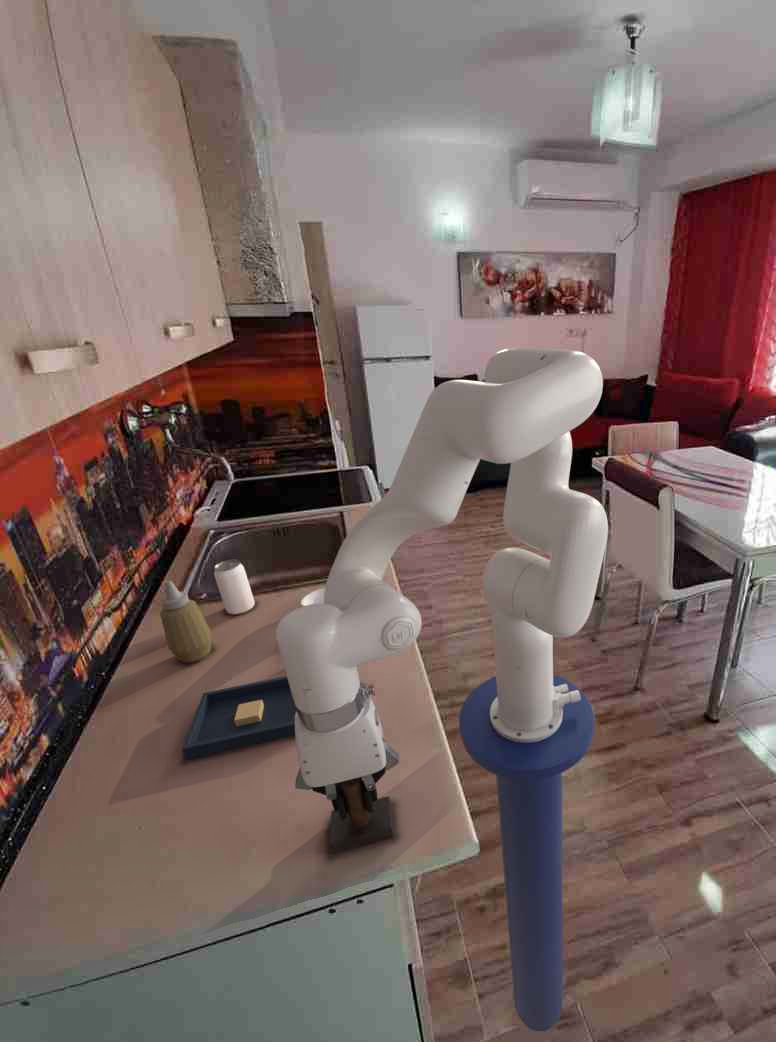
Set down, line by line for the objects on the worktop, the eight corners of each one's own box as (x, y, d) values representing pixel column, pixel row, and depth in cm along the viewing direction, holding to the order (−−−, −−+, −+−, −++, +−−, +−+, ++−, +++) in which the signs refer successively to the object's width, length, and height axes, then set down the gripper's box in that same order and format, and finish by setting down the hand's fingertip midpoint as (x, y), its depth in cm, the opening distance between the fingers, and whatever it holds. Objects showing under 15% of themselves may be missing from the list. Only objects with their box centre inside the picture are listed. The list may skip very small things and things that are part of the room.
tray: (316, 680, 99) (313, 670, 98) (311, 731, 87) (308, 720, 86) (207, 703, 95) (203, 692, 94) (186, 760, 83) (181, 749, 82)
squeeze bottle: (218, 639, 113) (193, 568, 106) (214, 660, 107) (187, 586, 99) (177, 649, 111) (149, 577, 103) (171, 671, 104) (139, 596, 96)
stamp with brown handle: (391, 805, 73) (380, 755, 69) (393, 837, 69) (382, 786, 65) (333, 820, 72) (319, 770, 68) (332, 854, 67) (317, 802, 63)
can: (256, 598, 129) (243, 556, 124) (253, 611, 123) (240, 568, 118) (228, 604, 127) (214, 561, 122) (224, 617, 121) (209, 573, 116)
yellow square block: (264, 705, 93) (262, 699, 92) (260, 721, 89) (258, 715, 89) (240, 710, 92) (238, 704, 91) (236, 726, 88) (233, 720, 88)
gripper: (397, 668, 66) (414, 769, 74) (263, 696, 62) (296, 799, 70) (402, 709, 59) (421, 815, 67) (252, 742, 56) (291, 850, 64)
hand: (357, 806), depth 68 cm, fingers closed on stamp with brown handle, 2 cm apart
